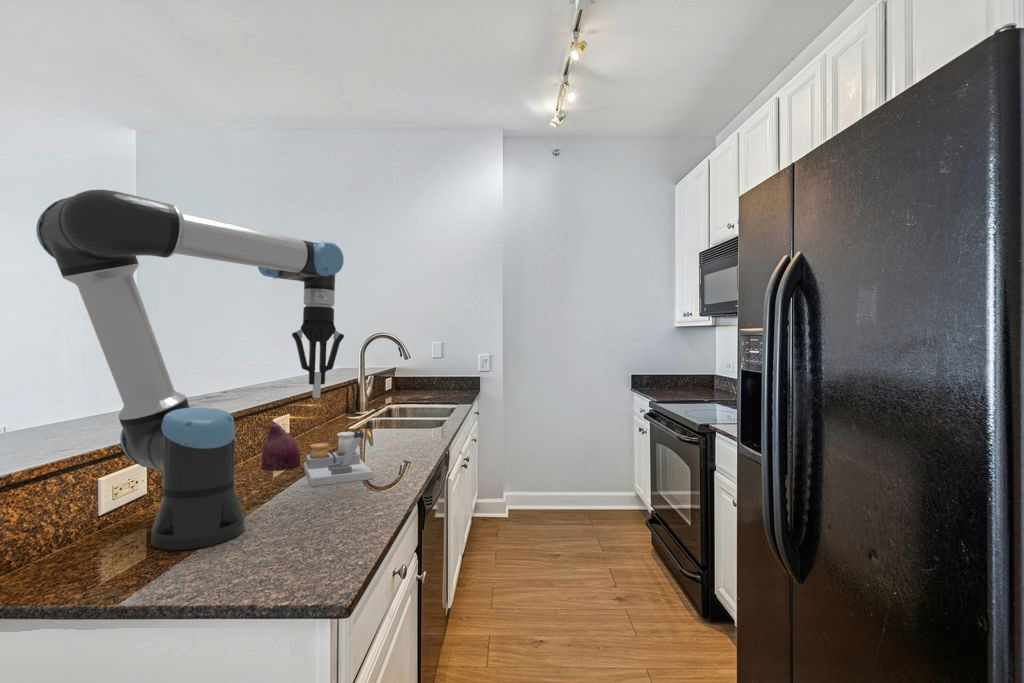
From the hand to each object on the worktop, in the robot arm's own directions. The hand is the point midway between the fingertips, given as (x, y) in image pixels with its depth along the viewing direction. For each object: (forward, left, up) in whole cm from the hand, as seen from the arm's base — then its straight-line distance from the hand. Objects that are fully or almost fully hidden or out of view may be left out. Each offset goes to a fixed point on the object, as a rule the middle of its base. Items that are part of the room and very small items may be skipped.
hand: (316, 397), depth 135 cm
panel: (+6, +4, -22) cm, 23 cm away
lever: (+6, -1, -20) cm, 21 cm away
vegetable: (-7, +20, -22) cm, 31 cm away
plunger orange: (+2, +8, -19) cm, 21 cm away
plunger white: (+9, +8, -17) cm, 20 cm away
